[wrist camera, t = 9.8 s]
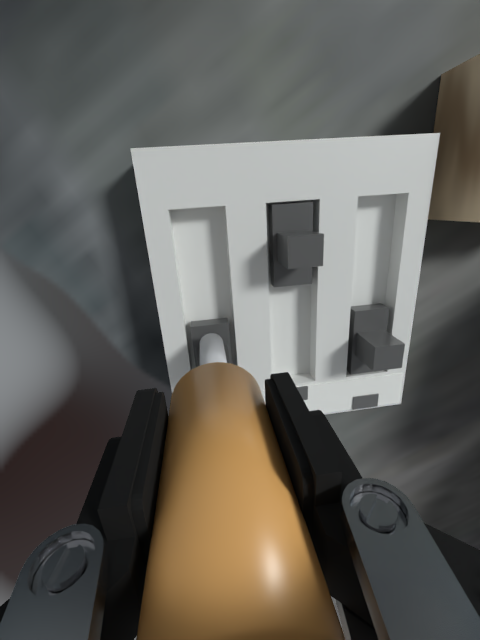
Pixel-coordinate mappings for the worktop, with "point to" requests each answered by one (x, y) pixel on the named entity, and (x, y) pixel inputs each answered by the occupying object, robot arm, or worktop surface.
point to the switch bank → (254, 253)
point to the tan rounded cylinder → (229, 522)
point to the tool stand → (458, 145)
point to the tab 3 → (372, 341)
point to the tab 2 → (293, 244)
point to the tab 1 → (207, 327)
